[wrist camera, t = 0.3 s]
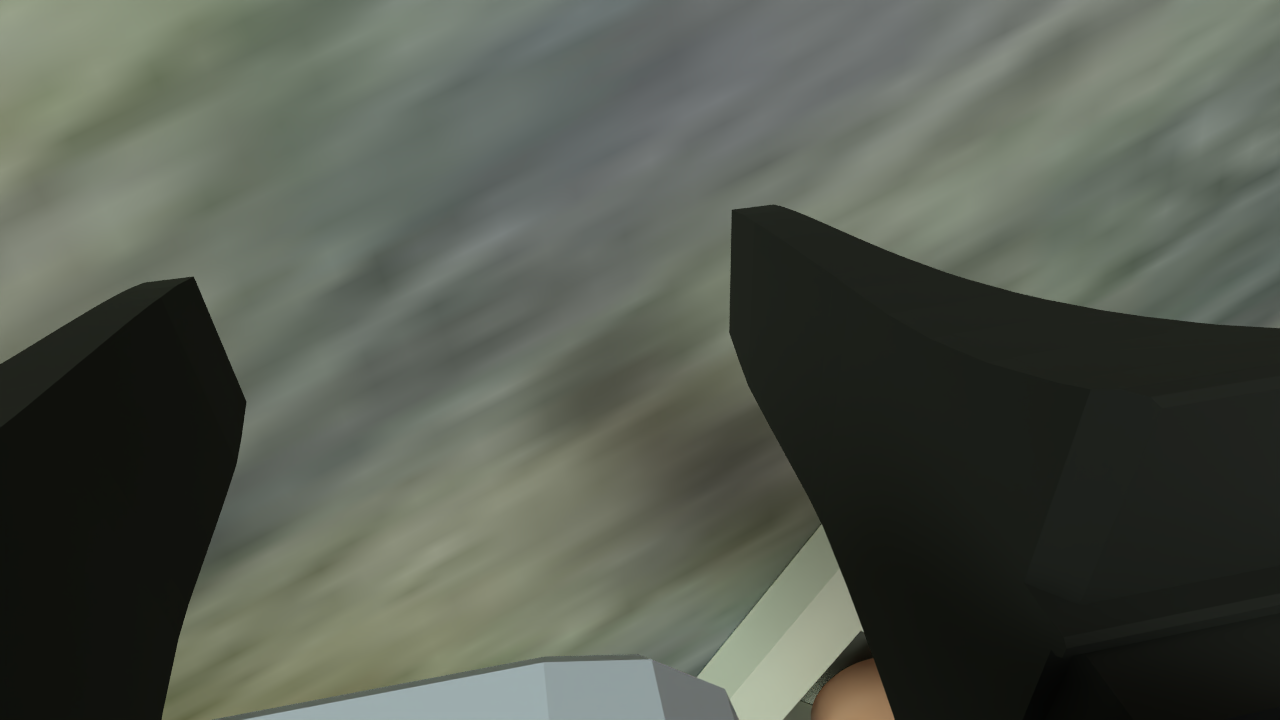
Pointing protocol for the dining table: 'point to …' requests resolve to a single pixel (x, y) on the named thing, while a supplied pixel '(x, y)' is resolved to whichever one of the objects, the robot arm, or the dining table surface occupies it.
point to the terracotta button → (853, 695)
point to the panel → (787, 638)
